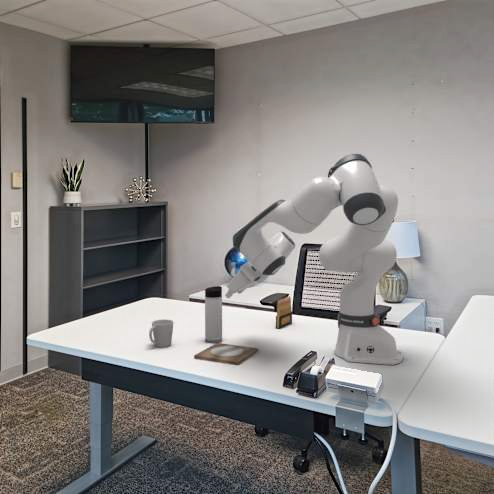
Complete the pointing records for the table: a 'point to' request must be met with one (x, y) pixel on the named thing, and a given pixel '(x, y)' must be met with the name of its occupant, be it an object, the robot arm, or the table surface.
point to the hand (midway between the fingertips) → (232, 294)
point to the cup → (161, 332)
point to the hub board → (226, 353)
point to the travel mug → (213, 314)
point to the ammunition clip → (283, 313)
